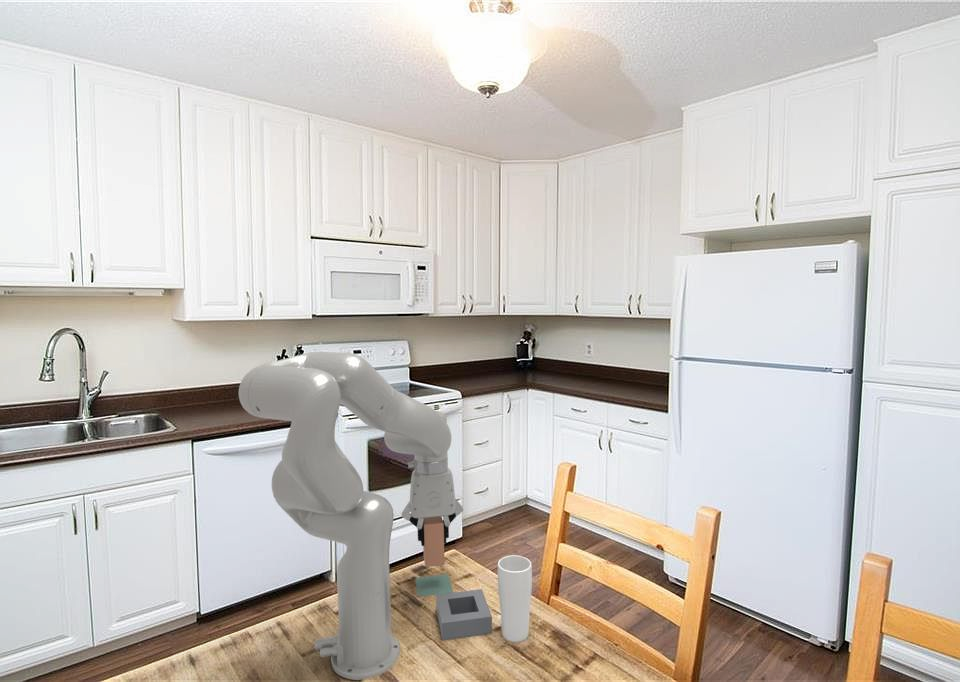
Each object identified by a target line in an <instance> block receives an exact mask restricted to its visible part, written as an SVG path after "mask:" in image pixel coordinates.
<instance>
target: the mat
mask: <svg viewBox="0 0 960 682" xmlns="http://www.w3.org/2000/svg"><path fill="white" fill-rule="evenodd" d="M415 587H416V593H417V594H416V595H417V597H418V598H419V597H429V596H436V595H438V594H446V593H454V591H453V587H452V583H451V577H450V575H449V573H446V574H438V575H430V576H429V575H428V576H420V577H415Z"/></svg>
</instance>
